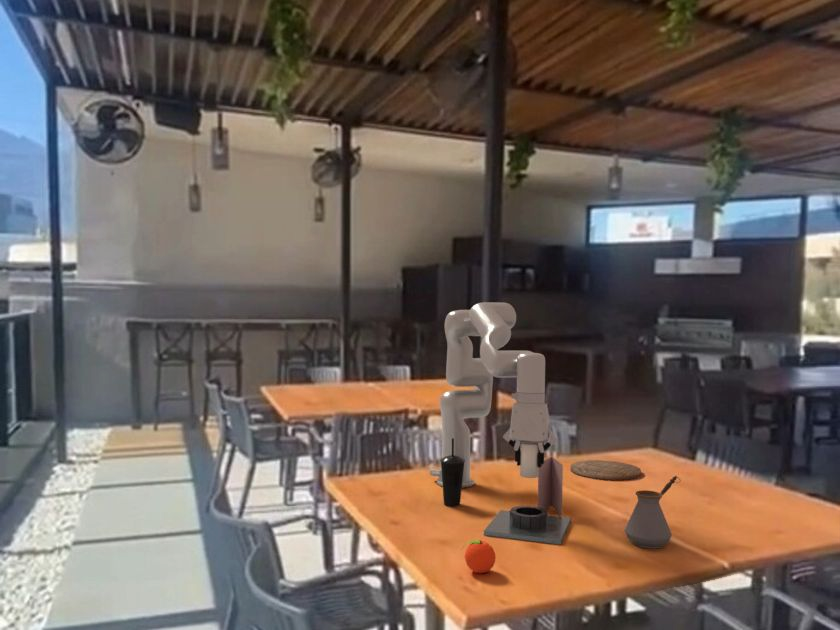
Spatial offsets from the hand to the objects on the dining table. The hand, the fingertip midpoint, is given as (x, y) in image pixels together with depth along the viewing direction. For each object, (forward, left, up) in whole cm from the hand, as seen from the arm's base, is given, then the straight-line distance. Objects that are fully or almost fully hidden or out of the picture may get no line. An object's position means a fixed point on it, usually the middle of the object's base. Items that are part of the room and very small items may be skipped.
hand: (529, 464), depth 190 cm
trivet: (+14, +75, -18) cm, 79 cm away
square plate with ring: (0, 0, -17) cm, 17 cm away
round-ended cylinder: (0, 0, -3) cm, 3 cm away
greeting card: (+4, +18, -18) cm, 25 cm away
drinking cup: (-26, +14, -18) cm, 34 cm away
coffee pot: (+33, +4, -18) cm, 38 cm away
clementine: (-5, -35, -18) cm, 39 cm away
